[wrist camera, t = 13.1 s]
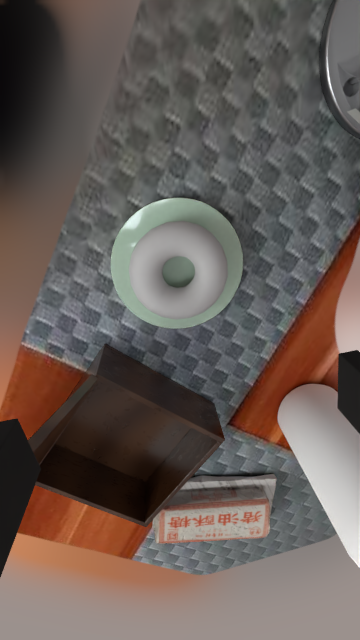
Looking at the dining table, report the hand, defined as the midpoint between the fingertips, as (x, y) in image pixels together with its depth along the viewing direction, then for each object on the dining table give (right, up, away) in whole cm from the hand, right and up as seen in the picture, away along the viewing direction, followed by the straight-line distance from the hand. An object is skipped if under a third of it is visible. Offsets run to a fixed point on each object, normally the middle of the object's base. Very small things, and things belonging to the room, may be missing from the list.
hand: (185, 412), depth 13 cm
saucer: (0, +10, +22) cm, 24 cm away
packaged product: (+5, -23, +36) cm, 43 cm away
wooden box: (-7, -9, +29) cm, 31 cm away
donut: (0, +9, +21) cm, 23 cm away
